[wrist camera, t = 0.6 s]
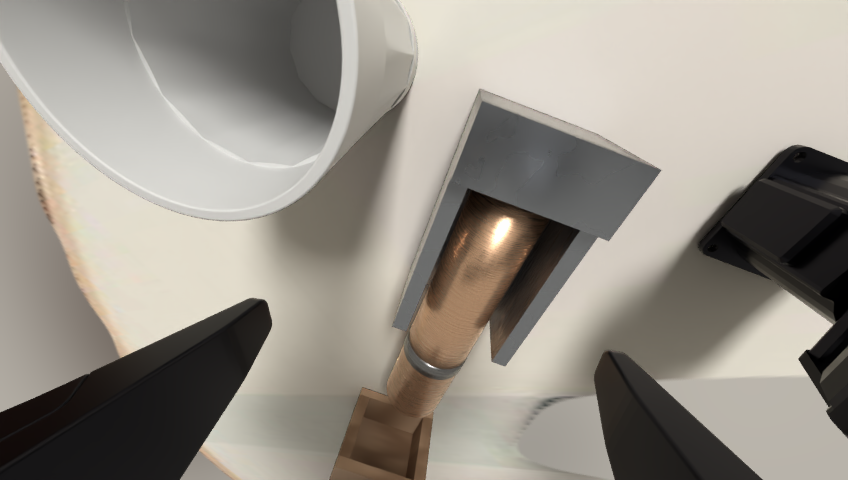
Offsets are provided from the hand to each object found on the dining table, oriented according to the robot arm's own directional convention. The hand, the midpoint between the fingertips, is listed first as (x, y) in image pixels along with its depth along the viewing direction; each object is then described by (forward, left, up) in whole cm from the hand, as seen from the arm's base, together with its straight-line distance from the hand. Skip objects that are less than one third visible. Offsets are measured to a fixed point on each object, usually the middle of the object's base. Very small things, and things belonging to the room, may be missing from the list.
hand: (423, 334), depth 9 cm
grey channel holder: (-3, +1, -12) cm, 13 cm away
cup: (+7, -5, -12) cm, 15 cm away
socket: (-3, +23, -12) cm, 26 cm away
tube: (-3, +5, -11) cm, 12 cm away
